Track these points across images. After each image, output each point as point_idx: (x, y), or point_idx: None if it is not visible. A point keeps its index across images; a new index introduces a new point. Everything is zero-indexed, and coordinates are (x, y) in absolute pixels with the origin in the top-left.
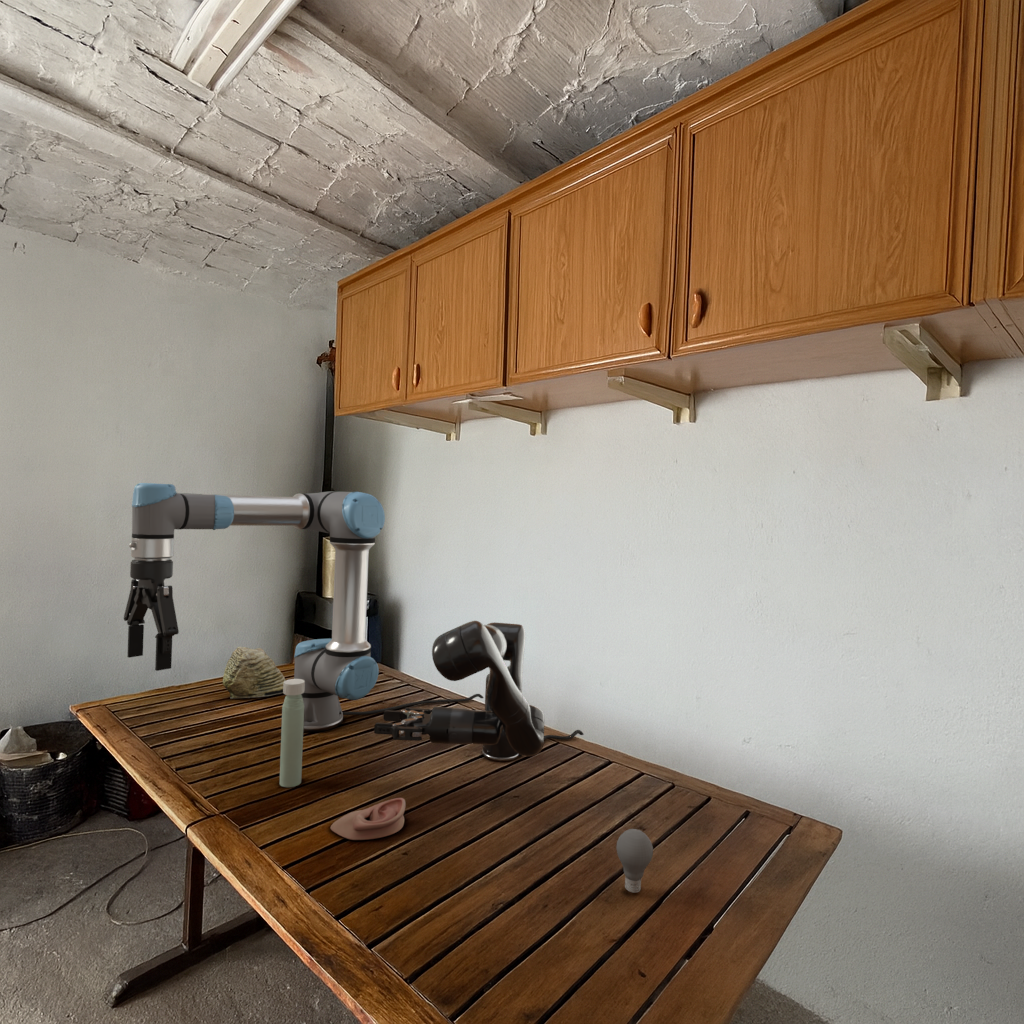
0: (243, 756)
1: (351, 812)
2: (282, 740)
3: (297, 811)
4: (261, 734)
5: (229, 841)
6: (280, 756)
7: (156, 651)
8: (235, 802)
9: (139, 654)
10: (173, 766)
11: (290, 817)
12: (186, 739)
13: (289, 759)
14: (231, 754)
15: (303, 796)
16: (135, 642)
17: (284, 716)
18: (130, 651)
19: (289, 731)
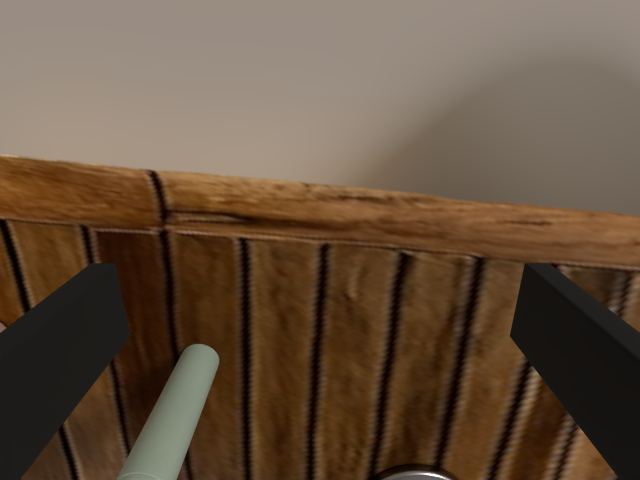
0: (366, 359)
1: None
2: (168, 406)
3: None
4: (437, 423)
5: (52, 195)
6: (191, 381)
7: (19, 332)
8: (188, 265)
9: (518, 324)
10: (424, 256)
11: None
12: None
13: (166, 384)
14: (392, 350)
15: (136, 348)
16: (575, 355)
17: (141, 455)
18: (544, 290)
19: (142, 430)
